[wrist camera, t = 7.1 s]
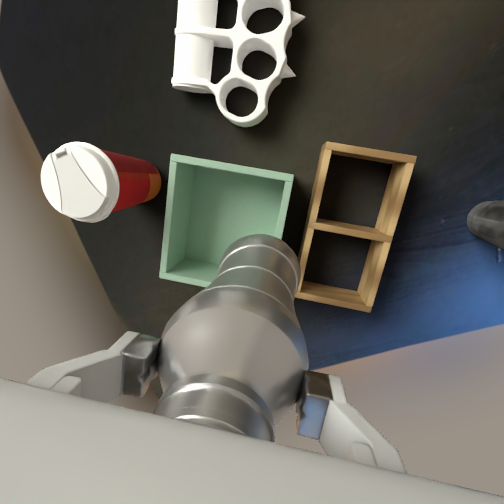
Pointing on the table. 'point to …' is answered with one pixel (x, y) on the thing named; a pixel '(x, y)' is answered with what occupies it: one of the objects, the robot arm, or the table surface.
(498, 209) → the beverage cup
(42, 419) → the robot arm
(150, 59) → the table surface
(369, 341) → the table surface
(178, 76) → the knuckle duster
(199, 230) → the open storage box
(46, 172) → the paper cup
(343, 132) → the table surface
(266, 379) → the silver metal bottle
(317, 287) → the rack
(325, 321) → the table surface
